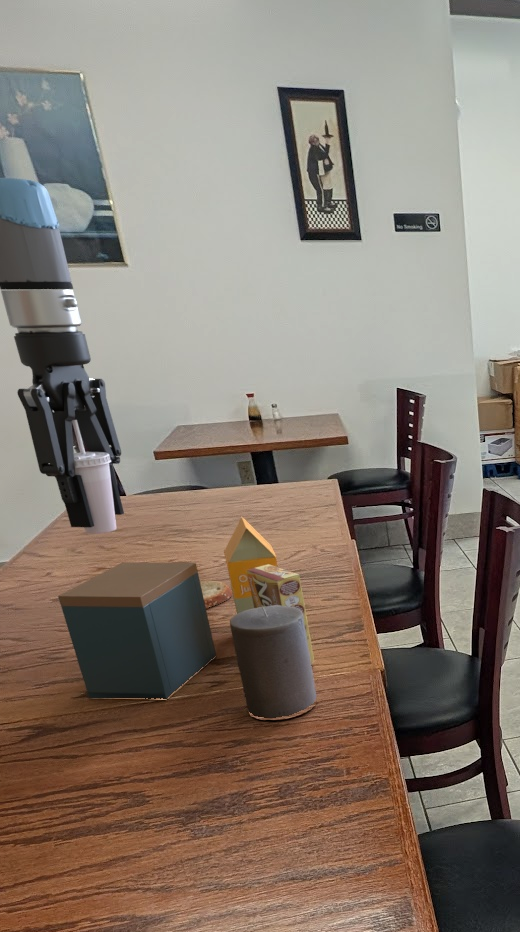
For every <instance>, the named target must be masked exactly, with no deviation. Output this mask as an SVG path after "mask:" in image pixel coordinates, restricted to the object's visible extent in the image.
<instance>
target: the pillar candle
mask: <svg viewBox="0 0 520 932" xmlns="http://www.w3.org/2000/svg"><path fill="white" fill-rule="evenodd" d="M229 626H230V632H231V638H232V643H233V647H234V653H235V657H236V662H237V667H238V670H239V674H240V679H241V684H242V688H243V690H242V692H243V693H244V699H245V703H246V708H247V711H248V710H249V712H250V713H252V714H253V715H254V716H258V717H264V718H276V717H282V716H289V715H292V714H294V713H297V712H299V711H301V710H304V709H306V708H307V707H309V706H311V704H313V703H314V701H315V700H316V697H317V692H316V691H317V690H316V684H315V680H314V672H313V667H312V666H311V660H310V654H309V648H308V642H307V637H306V630H305V624H304V618H303V613H302V611H300V609H297V608H294V607H289V606H280V605H274V606H267V607H259V608H254V609H250V610H246V611H243V612H241V613H238V614H237V613H236V614H235V615H234V616H232V617H231V618H230V619H229Z"/></svg>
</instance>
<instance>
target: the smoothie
mask: <svg viewBox="0 0 520 932" xmlns="http://www.w3.org/2000/svg"><path fill="white" fill-rule="evenodd" d="M72 427H73V430H74V434H75V438H76V443H77V445H78V449H79V452H74V463H75V475H81V477H82V481H83V485H84V489H85V492H86V496H87V500H88V504H89V507H90V511H91V515H92V519H93V522H94V526H93V527H83V529H84V532H85V533H86V534H91V535H94V534H95V535H98V534H105V533H110V532H111V533H112V532H114V531H116V530H117V521H116V515H115V510H114V502H113V493H112V485H111V475H110V468H109V463H110V462H111V460H110V456H109V454H108V453H105V452H88V451H86V450H85V445H84V441H83V439H82V437H81V434H80V430H79V426H78V422H77V420H73V421H72ZM64 466H65V465H64Z"/></svg>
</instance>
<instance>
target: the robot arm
mask: <svg viewBox="0 0 520 932" xmlns="http://www.w3.org/2000/svg"><path fill="white" fill-rule="evenodd" d="M50 196H51V195H50V193H49V191H48V190H47V188H46V187H45V186H44V185H43V184H41V183H40V182H38V181H35V180H32V179H26V178H25V179H24V178H15V177H13V178H12V177H0V293H1V297H2V300H3V304H4V308H5V311H6V316H7V319H8V323H9V326H11V327H12V328H15V329H16V330H17V332H16V333H14V336H13V339H14V342H15V346H16V350H17V353H18V356H19V360H20V363H21V364H22V365H23V366H25V367H29V368H30V369H31V373H32V378H31V379H32V385H31V386H30V387H28V388H18V389H17V392H16V393H17V396H18V398H19V400H20V403H21V405H22V407H23V409H24V411H25V415H26V419H27V423H28V428H29V433H30V436H31V441H32V444H33V450H34V453H35V457H36V461H37V465H38V469H39V472H40V473H41V474H43V475H46V476H47V477H54V478H55V479H56V483H57V486H58V491H59V493H60V498H61V500H62V502H63V503H64V507H65V511H66V513H67V517H68V521H69V523H70V527H71V528H84V527H93V526H94V522H93V519H92V515H91V511H90V507H89V504H88V500H87V496H86V492H85V489H84V485H83V481H82V477H81V475H75V463H74V453H75V452H74V451H75V449H74V436H73V423H72V421H73V420H77V422H78V426H79V430H80V434H81V438H82V442H83V444H84V446H85V448H86V449H87V452H105V453H108V454H109V456H110V460H111V462H110V463H109V468H110V475H111V485H112V493H113V502H114V510H115V516H116V515H117V516H120V515H121V516H122V515H123V514H125V511H124V508H123V503H122V499H121V495H120V490H119V486H118V480H117V476H116V471H115V468H114V465H119V464H120V463H121V456H122V449H121V445H120V442H119V438H118V435H117V431H116V428H115V423H114V421H113V417H112V413H111V410H110V406H109V403H108V399H107V390H106V382H105V380H104V379H103V378H91V377H90V376H89V374H88V373H87V370H86V368H85V366H84V365H87V364H90V362H91V361H92V358H91V354H90V349H89V346H88V342H87V341H88V340H87V338H86V334H85V333H83V331H79V329H78V327H80V326H82V320H81V316H80V315H81V314H80V312H79V308H78V302H77V300H76V295H75V292H74V286H73V282H72V278H71V273H70V270H69V265H68V261H67V257H66V252H65V248H64V244H63V239H62V236H61V231H60V221H58V219H57V215H56V212H55V209H54V205H53V203H52V199H51V197H50ZM64 465H65V466H64Z"/></svg>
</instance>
